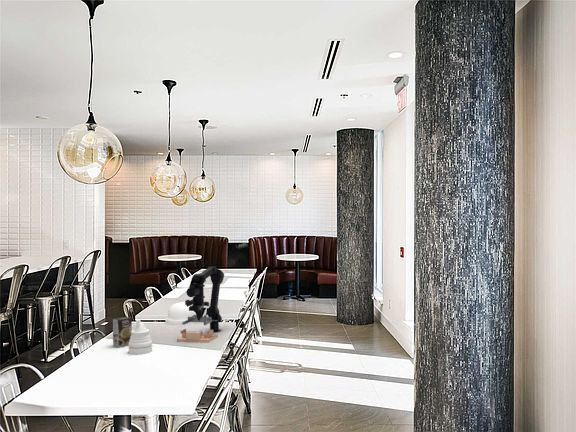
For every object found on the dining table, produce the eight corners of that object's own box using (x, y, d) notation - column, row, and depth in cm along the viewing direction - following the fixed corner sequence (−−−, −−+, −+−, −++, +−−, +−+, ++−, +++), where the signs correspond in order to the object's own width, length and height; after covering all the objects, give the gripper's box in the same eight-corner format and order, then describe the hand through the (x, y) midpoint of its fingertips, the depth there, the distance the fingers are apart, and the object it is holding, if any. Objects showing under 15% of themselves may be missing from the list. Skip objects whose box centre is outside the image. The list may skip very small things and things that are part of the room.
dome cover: (204, 325, 383) (203, 305, 383) (160, 326, 383) (160, 306, 383) (210, 317, 415) (210, 298, 415) (170, 318, 415) (170, 299, 415)
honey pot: (146, 354, 305) (145, 321, 305) (124, 354, 307) (123, 321, 307) (156, 349, 317) (155, 317, 317) (135, 348, 320) (134, 317, 320)
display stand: (187, 335, 351) (187, 327, 351) (217, 336, 346) (217, 327, 346) (177, 341, 335) (176, 332, 335) (208, 342, 331) (207, 333, 331)
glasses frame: (189, 321, 348) (189, 314, 348) (212, 321, 344) (211, 315, 344) (182, 324, 338) (182, 317, 338) (205, 325, 334) (205, 318, 334)
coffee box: (119, 347, 323) (118, 320, 323) (112, 346, 327) (112, 319, 327) (132, 344, 330) (131, 317, 330) (125, 343, 334) (125, 316, 334)
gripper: (193, 292, 356) (193, 317, 356) (180, 297, 338) (181, 322, 338) (209, 292, 353) (210, 317, 353) (197, 297, 335) (198, 323, 335)
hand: (199, 320), depth 345 cm, fingers closed on glasses frame, 2 cm apart
